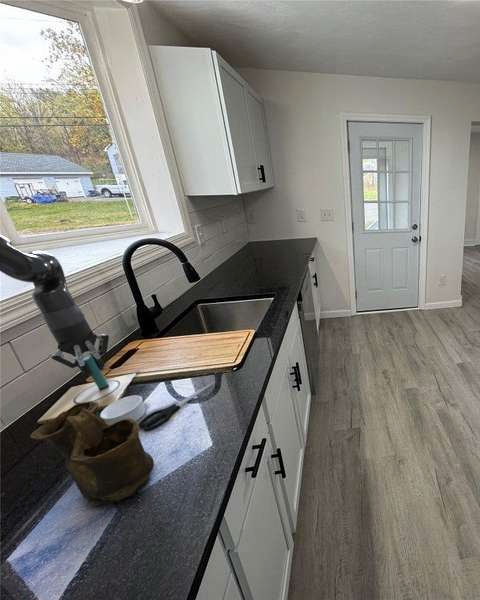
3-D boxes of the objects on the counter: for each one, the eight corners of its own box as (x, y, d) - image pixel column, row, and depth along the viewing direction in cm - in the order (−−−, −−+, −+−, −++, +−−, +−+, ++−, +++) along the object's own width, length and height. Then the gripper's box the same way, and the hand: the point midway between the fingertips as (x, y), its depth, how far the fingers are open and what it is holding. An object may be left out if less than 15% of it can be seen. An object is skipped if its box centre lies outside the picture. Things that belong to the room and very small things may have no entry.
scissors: (207, 380, 99) (135, 425, 83) (206, 378, 98) (134, 423, 82) (221, 385, 96) (149, 434, 80) (220, 383, 95) (147, 431, 79)
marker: (97, 390, 97) (80, 361, 92) (101, 386, 99) (84, 357, 94) (106, 388, 97) (90, 359, 93) (110, 384, 99) (94, 355, 95)
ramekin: (104, 421, 85) (97, 408, 84) (143, 402, 91) (137, 390, 90) (110, 436, 80) (102, 423, 78) (151, 415, 86) (145, 403, 84)
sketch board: (38, 424, 86) (36, 421, 86) (73, 389, 100) (71, 386, 100) (116, 405, 91) (114, 402, 91) (138, 374, 105) (137, 372, 105)
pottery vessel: (184, 483, 66) (147, 411, 58) (126, 535, 57) (72, 458, 49) (120, 448, 76) (81, 382, 68) (62, 487, 67) (9, 417, 59)
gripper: (90, 310, 96) (115, 357, 103) (27, 331, 85) (60, 382, 92) (102, 313, 93) (127, 361, 100) (38, 335, 81) (71, 388, 88)
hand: (95, 371), depth 96 cm, fingers closed on marker, 2 cm apart
